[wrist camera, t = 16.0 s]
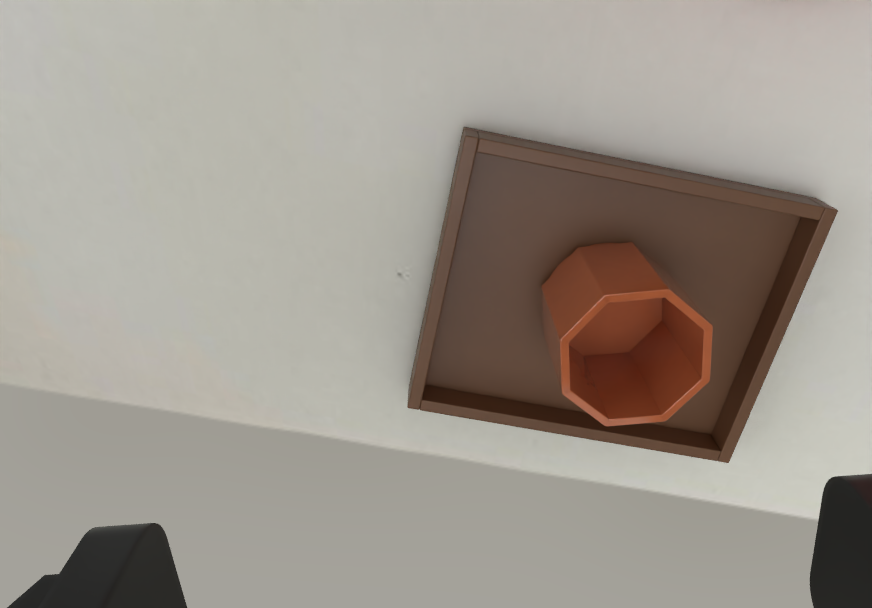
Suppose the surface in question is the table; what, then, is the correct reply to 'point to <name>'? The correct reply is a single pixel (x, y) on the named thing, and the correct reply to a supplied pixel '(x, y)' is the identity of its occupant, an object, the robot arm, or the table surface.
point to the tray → (593, 224)
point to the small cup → (624, 335)
